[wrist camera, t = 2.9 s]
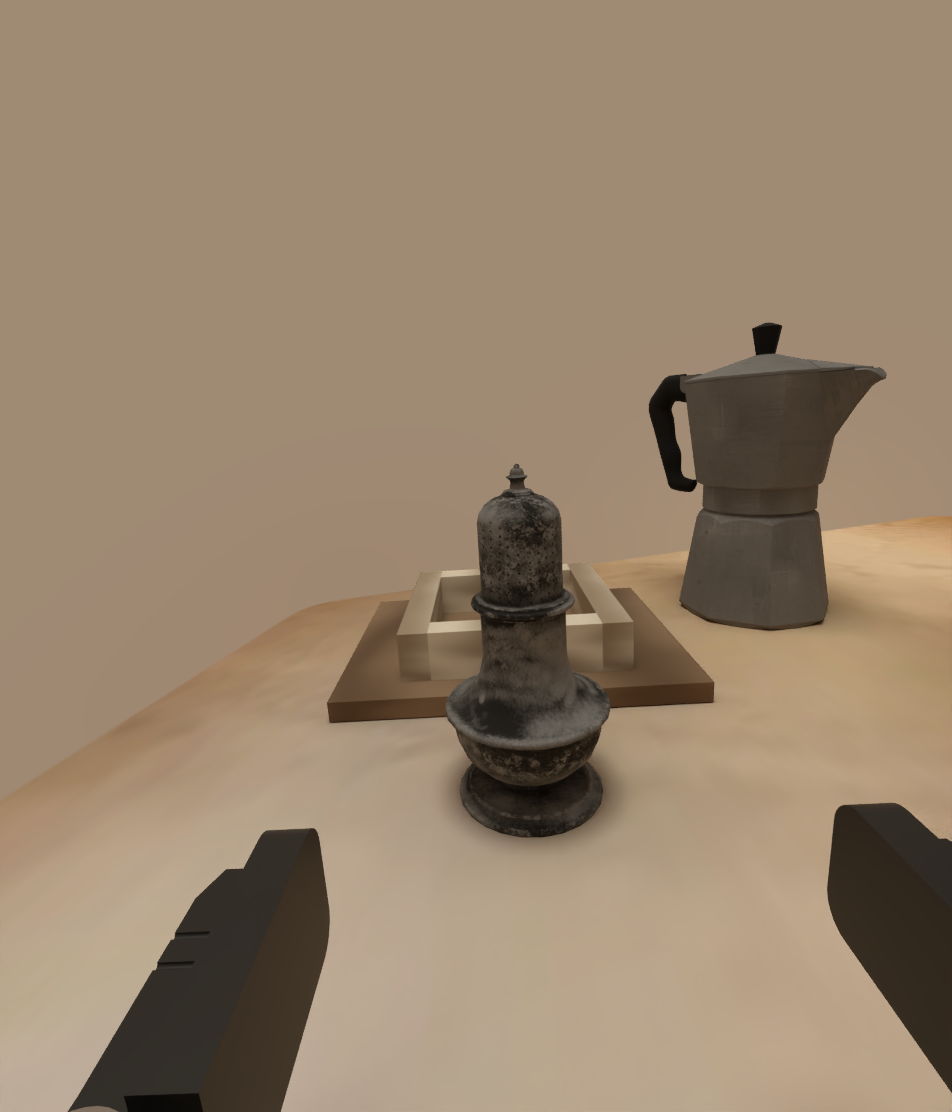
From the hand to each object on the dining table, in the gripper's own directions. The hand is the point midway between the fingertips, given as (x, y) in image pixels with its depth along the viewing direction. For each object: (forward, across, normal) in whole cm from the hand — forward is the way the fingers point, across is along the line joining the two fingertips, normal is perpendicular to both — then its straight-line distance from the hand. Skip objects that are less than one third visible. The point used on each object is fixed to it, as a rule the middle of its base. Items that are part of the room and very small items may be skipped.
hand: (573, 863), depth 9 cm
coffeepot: (+30, -16, +7) cm, 35 cm away
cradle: (+24, 0, +7) cm, 25 cm away
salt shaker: (+11, 0, +7) cm, 13 cm away
